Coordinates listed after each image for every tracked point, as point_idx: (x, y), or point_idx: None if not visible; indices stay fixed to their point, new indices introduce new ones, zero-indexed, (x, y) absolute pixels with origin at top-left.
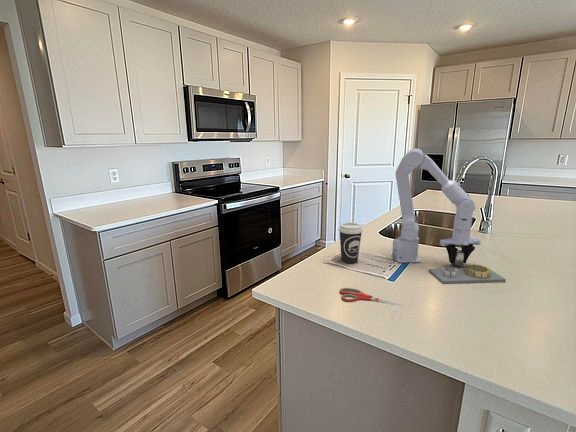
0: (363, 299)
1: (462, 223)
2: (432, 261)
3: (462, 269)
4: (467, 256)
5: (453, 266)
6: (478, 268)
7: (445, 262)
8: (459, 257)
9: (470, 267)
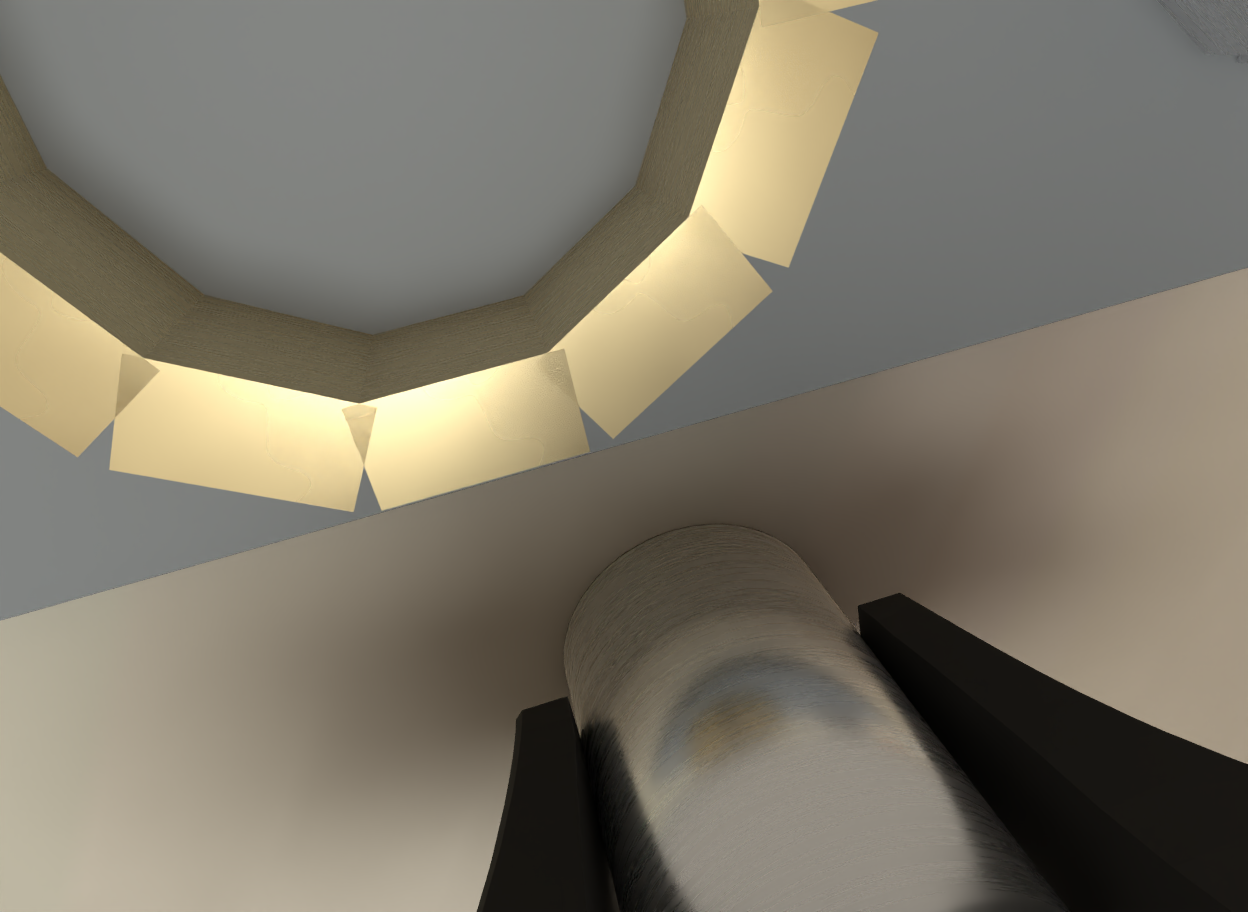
0: None
1: None
2: None
3: None
4: (535, 895)
5: (809, 571)
6: (212, 325)
7: None
8: (859, 744)
9: (514, 324)
